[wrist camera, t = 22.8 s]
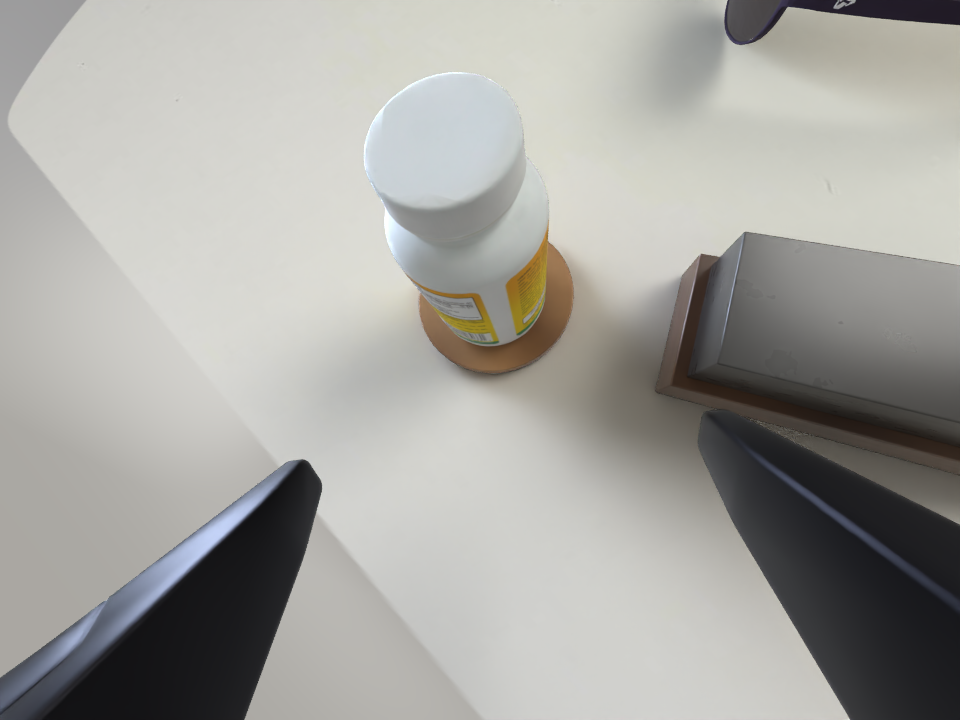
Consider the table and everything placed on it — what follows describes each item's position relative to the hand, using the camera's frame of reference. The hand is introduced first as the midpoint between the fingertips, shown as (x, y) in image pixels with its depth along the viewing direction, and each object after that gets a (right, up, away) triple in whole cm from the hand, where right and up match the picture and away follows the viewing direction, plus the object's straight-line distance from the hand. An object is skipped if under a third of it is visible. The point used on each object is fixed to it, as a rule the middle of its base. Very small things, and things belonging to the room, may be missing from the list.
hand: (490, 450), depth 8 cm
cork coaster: (+1, +5, +10) cm, 12 cm away
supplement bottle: (+1, +5, +10) cm, 11 cm away
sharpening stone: (+15, +2, +7) cm, 16 cm away
